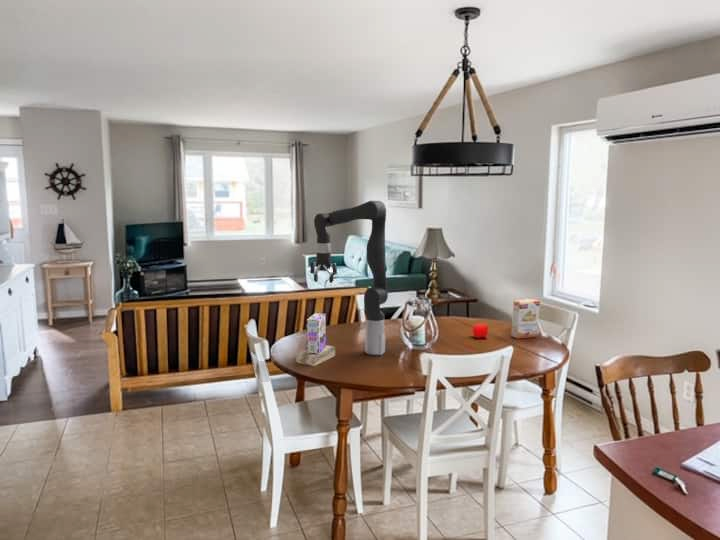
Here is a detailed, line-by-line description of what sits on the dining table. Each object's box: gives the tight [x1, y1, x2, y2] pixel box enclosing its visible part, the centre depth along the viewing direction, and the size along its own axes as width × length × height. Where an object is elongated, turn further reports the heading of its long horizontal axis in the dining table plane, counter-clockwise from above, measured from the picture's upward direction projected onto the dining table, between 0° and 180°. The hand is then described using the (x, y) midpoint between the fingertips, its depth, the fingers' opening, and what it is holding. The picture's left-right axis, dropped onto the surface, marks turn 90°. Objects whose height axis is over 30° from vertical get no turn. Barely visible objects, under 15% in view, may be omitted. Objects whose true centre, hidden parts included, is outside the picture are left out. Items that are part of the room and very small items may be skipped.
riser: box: [295, 344, 336, 367], centre depth 246 cm, size 10×18×5 cm, turn 150°
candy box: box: [306, 313, 327, 354], centre depth 244 cm, size 14×6×16 cm, turn 169°
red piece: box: [471, 323, 489, 339], centre depth 288 cm, size 8×8×8 cm
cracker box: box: [510, 298, 541, 340], centre depth 290 cm, size 14×6×21 cm, turn 111°
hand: (323, 282), depth 272 cm, fingers open, 8 cm apart
